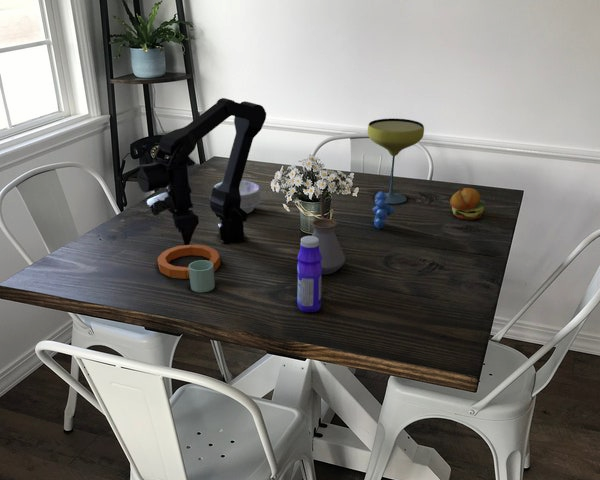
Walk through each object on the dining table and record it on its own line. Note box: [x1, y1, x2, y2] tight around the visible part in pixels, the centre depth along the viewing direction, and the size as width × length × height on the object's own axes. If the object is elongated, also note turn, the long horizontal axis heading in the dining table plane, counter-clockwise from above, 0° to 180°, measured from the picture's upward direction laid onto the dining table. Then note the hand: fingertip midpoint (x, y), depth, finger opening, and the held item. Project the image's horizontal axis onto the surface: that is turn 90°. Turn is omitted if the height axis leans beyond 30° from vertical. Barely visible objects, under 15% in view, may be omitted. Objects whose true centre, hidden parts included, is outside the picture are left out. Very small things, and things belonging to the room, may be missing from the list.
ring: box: [157, 243, 221, 280], centre depth 167 cm, size 16×16×2 cm
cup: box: [188, 259, 216, 293], centre depth 155 cm, size 6×6×6 cm
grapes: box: [371, 190, 395, 230], centre depth 187 cm, size 12×7×12 cm, turn 176°
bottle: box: [296, 235, 323, 313], centre depth 144 cm, size 7×6×17 cm
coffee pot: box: [311, 194, 346, 275], centre depth 167 cm, size 21×12×15 cm, turn 0°
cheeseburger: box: [448, 187, 485, 221], centre depth 197 cm, size 10×11×10 cm
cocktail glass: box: [367, 118, 425, 205], centre depth 206 cm, size 18×18×25 cm
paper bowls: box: [213, 179, 262, 214], centre depth 201 cm, size 15×15×8 cm
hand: (183, 238), depth 171 cm, fingers open, 9 cm apart
